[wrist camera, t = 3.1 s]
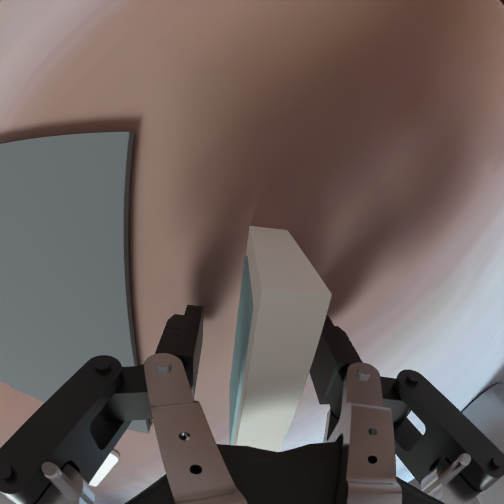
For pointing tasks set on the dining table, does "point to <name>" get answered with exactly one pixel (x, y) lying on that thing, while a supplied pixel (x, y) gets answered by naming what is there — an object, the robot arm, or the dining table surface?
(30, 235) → the mat
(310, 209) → the dining table surface
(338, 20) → the dining table surface
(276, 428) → the card box
